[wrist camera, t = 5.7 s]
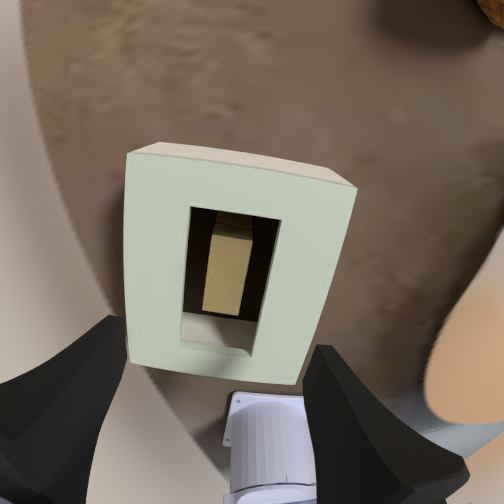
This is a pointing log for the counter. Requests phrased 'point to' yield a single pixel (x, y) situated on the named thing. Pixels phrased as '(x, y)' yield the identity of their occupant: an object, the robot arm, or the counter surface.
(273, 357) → the box
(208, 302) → the tan rectangular block
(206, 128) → the counter surface
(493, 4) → the stuffed squirrel
